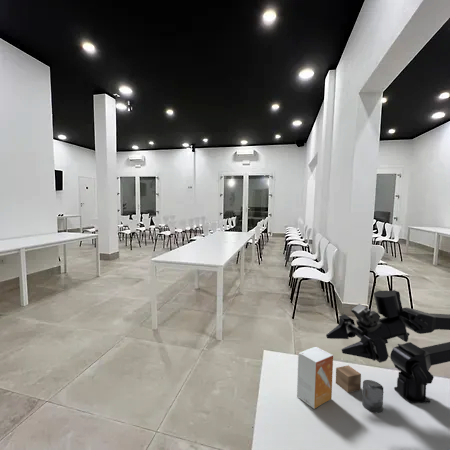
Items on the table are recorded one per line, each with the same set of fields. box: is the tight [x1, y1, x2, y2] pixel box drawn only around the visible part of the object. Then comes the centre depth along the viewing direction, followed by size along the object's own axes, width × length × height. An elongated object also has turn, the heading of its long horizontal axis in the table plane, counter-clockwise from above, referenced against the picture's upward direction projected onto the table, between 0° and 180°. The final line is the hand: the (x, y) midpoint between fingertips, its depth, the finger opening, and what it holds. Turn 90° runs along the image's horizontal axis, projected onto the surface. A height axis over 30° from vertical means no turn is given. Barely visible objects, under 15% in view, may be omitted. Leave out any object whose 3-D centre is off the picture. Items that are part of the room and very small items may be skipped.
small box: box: [296, 346, 334, 409], centre depth 75 cm, size 8×6×13 cm
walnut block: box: [335, 364, 362, 394], centre depth 81 cm, size 5×5×5 cm
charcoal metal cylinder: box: [361, 379, 384, 414], centre depth 72 cm, size 5×5×6 cm
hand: (333, 343), depth 75 cm, fingers open, 9 cm apart
